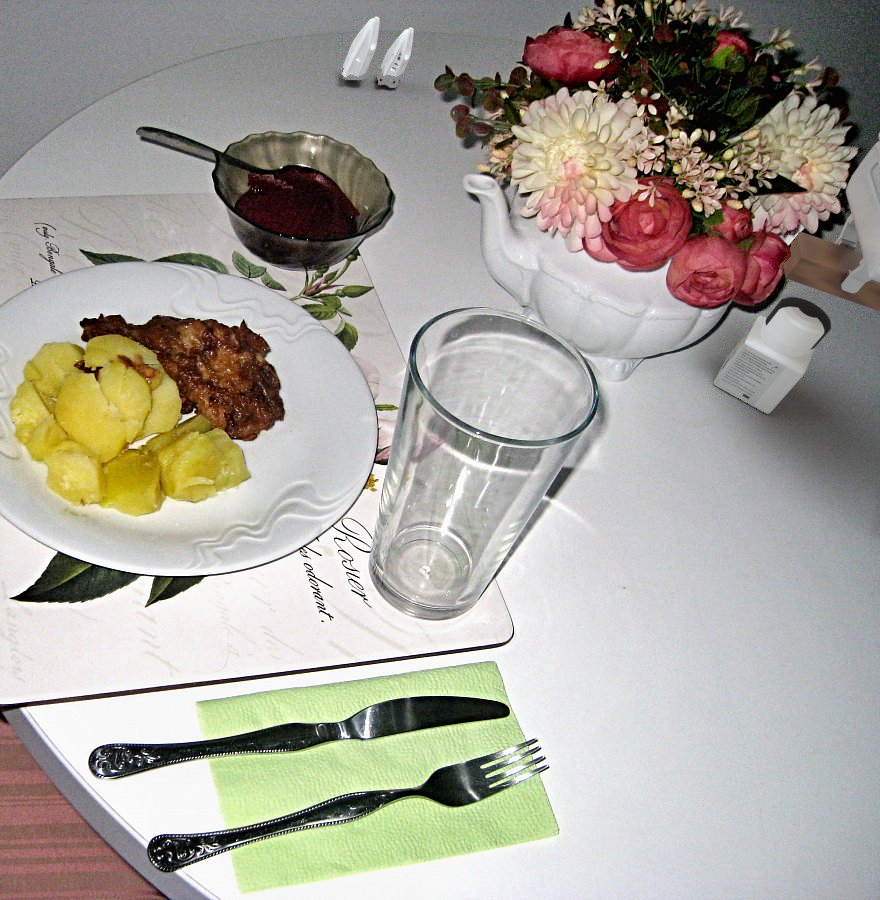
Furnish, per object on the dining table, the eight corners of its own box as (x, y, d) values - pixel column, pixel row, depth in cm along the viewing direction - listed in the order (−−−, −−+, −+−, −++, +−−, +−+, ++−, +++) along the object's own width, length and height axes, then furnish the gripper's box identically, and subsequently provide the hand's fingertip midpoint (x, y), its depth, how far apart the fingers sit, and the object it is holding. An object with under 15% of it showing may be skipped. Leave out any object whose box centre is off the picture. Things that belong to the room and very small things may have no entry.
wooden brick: (878, 284, 106) (896, 264, 104) (886, 313, 102) (905, 293, 100) (780, 250, 107) (796, 230, 105) (785, 278, 103) (801, 257, 101)
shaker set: (339, 88, 149) (356, 22, 141) (332, 75, 152) (348, 9, 144) (404, 91, 153) (424, 27, 145) (395, 79, 156) (415, 15, 147)
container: (726, 356, 121) (785, 281, 111) (780, 386, 119) (845, 311, 109) (711, 384, 116) (771, 308, 107) (767, 416, 114) (834, 341, 105)
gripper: (983, 226, 86) (883, 332, 96) (940, 132, 100) (856, 234, 110) (919, 204, 86) (826, 313, 97) (885, 113, 100) (807, 216, 110)
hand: (842, 270), depth 104 cm, fingers closed on wooden brick, 6 cm apart
